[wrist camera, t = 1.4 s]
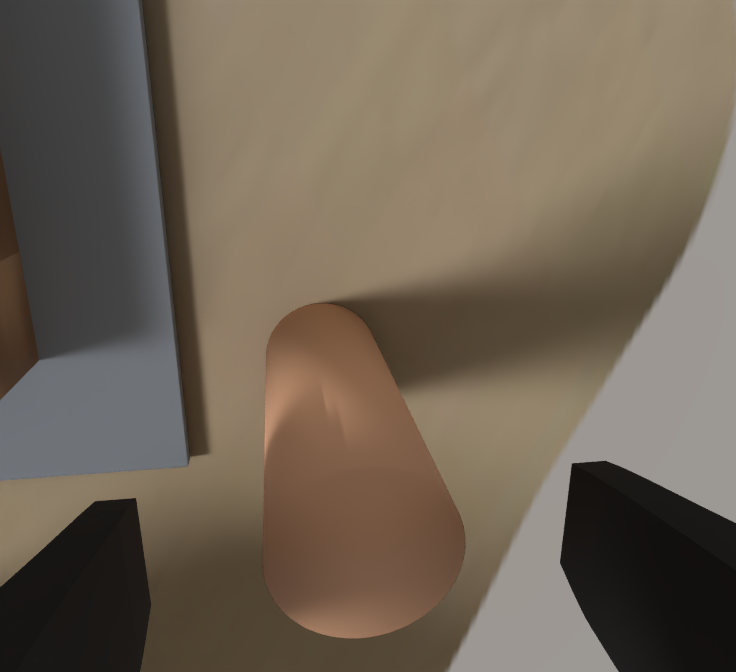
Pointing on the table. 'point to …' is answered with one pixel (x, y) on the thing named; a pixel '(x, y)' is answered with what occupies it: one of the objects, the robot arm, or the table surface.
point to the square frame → (13, 302)
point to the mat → (88, 244)
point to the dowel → (349, 485)
